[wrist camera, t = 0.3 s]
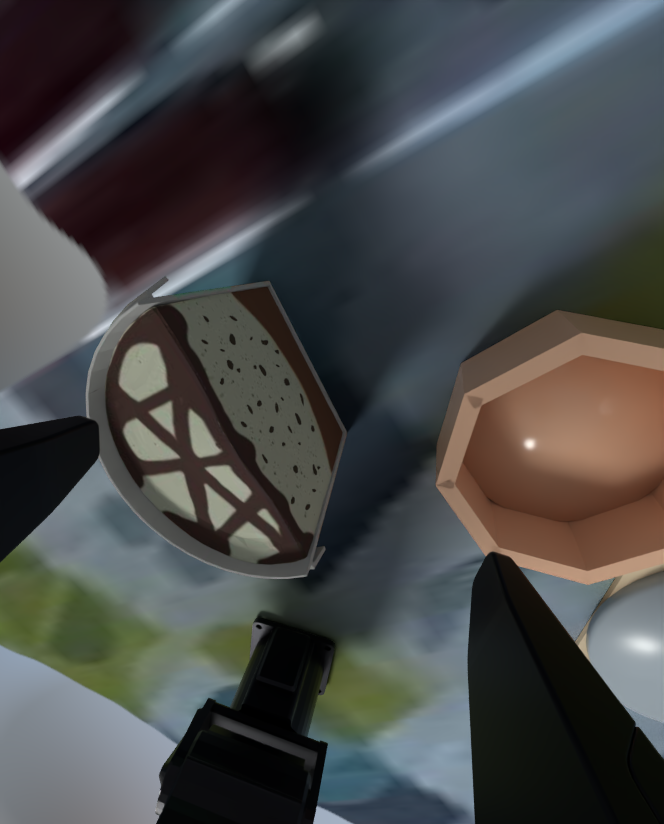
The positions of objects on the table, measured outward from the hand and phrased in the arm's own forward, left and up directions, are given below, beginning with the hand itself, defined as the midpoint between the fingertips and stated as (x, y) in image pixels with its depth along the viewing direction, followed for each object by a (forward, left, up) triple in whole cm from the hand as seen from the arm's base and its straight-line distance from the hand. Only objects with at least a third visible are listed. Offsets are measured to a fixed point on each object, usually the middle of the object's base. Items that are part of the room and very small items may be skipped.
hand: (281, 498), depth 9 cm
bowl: (-3, -10, -14) cm, 18 cm away
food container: (-4, +6, -15) cm, 16 cm away
